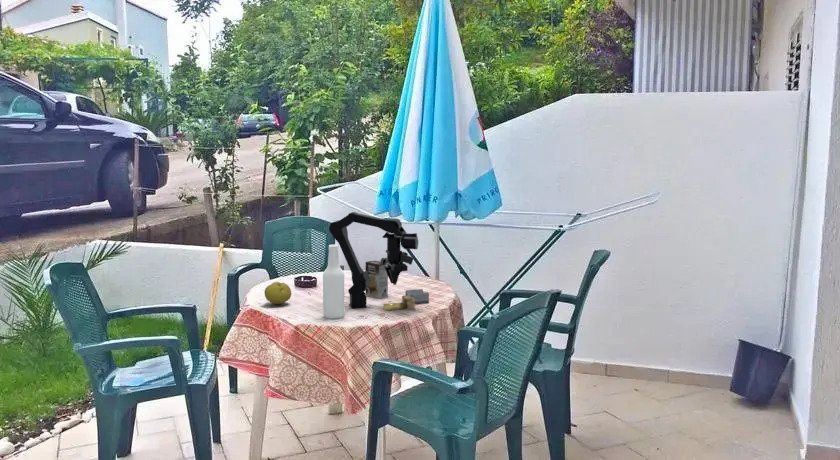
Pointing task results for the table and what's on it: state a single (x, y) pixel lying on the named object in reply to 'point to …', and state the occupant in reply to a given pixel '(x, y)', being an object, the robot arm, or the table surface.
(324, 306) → the alcohol
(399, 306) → the axle
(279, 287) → the fruit
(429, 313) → the table surface
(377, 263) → the coffee box
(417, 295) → the v block
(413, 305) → the bearing block
